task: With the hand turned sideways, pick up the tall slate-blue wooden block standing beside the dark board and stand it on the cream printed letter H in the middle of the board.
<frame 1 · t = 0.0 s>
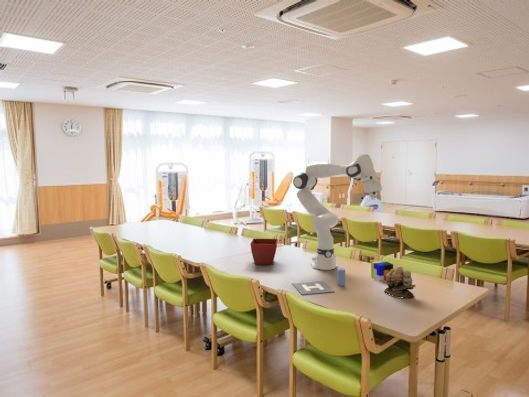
hand: (376, 198, 253), 52 cm above the table, tool tilted 20°, fingers open, 8 cm apart
blue block: (340, 284, 244), on the table
owl figurine: (399, 294, 226), on the table
plant pot: (264, 263, 296), on the table
puzzle toy: (381, 278, 256), on the table
letter board: (312, 288, 238), on the table
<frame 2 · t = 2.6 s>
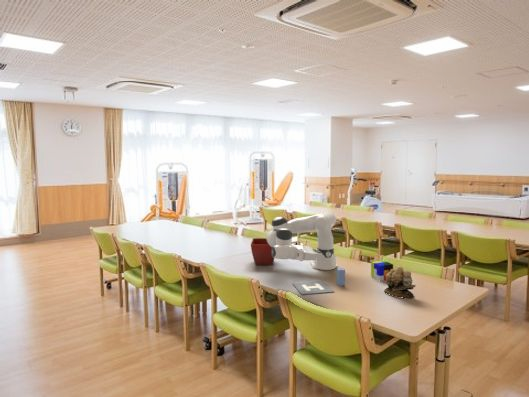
hand: (320, 252, 241), 21 cm above the table, tool horizontal, fingers open, 8 cm apart
plant pot: (264, 263, 296), on the table, touching arm
everything else where it was.
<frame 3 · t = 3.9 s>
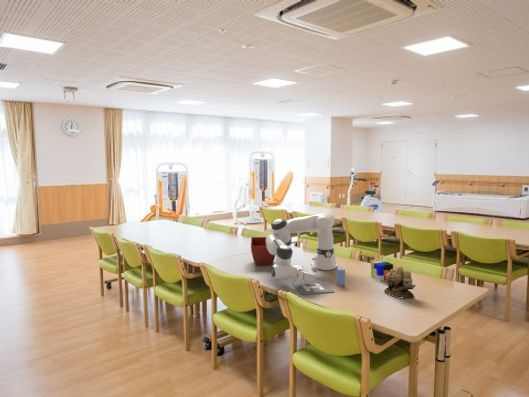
hand: (319, 273, 242), 8 cm above the table, tool horizontal, fingers open, 8 cm apart
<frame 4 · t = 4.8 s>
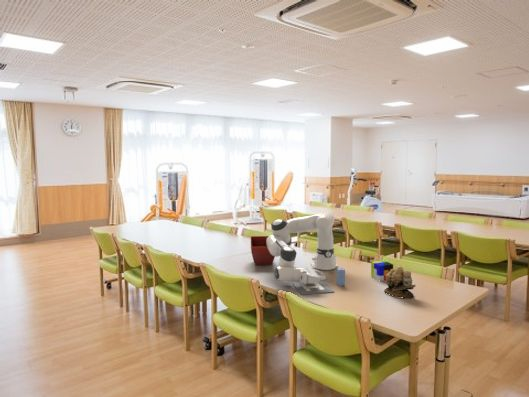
hand: (323, 275, 242), 6 cm above the table, tool horizontal, fingers open, 8 cm apart
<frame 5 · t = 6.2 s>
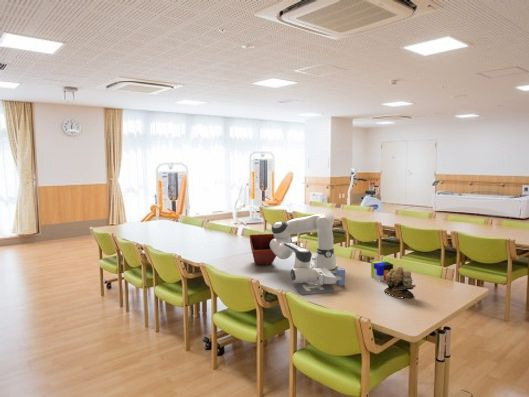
hand: (338, 275, 243), 6 cm above the table, tool horizontal, fingers open, 8 cm apart
plant pot: (262, 259, 297), point 2 cm above the table, touching arm
everything else where it was.
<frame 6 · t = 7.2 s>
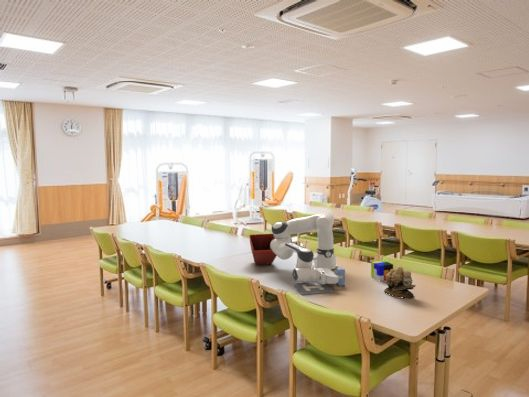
hand: (340, 275, 243), 6 cm above the table, tool horizontal, fingers closed on blue block, 4 cm apart
blue block: (340, 284, 244), on the table, touching gripper
everything else where it was.
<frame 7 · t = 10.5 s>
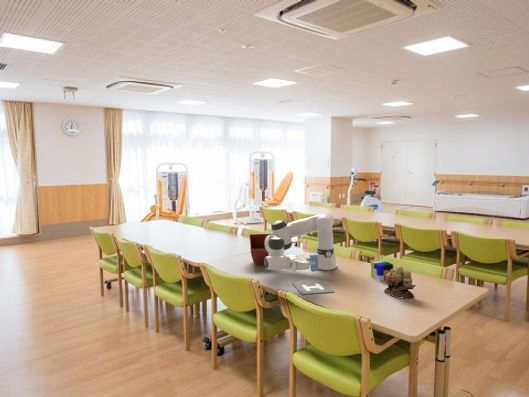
hand: (314, 261, 236), 17 cm above the table, tool horizontal, fingers closed on blue block, 4 cm apart
blue block: (314, 270, 237), point 11 cm above the table, touching gripper
when the fingers open (8 cm above the table, at t = 12.5 s): blue block drops 1 cm, resting on letter board.
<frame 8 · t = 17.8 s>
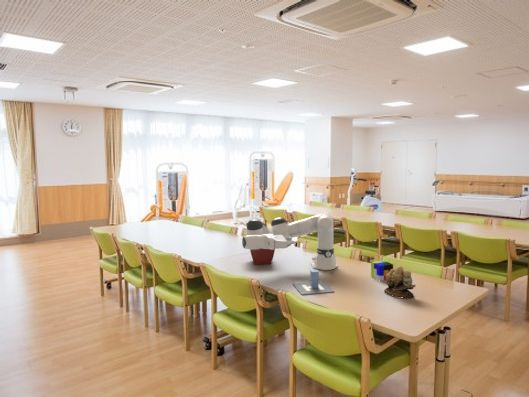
hand: (292, 240, 234), 30 cm above the table, tool horizontal, fingers open, 8 cm apart
blue block: (314, 286, 238), point 1 cm above the table, touching letter board
plant pot: (262, 262, 298), on the table
everything else where it was.
at the end: blue block inside the target area on the letter board (1.1 cm from its centre), point 0.7 cm above the letter board's base; blue block tilted 0°; the gripper is holding nothing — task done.
